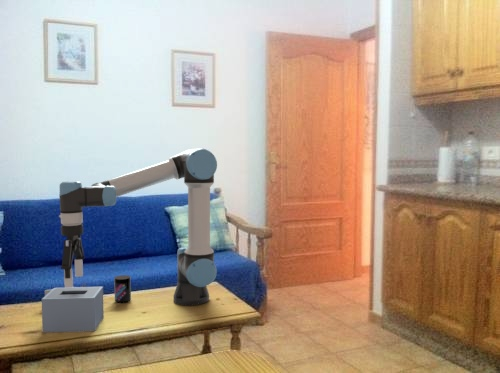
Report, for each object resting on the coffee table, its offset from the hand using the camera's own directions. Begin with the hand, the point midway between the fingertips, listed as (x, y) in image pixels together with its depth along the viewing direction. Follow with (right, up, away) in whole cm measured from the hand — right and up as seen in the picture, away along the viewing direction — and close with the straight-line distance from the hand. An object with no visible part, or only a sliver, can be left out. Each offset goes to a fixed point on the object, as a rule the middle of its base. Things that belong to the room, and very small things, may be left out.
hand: (74, 281), depth 173 cm
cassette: (-13, -15, +21) cm, 29 cm away
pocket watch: (-2, -15, +20) cm, 25 cm away
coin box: (0, -16, +1) cm, 16 cm away
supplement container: (+10, -14, +28) cm, 33 cm away
